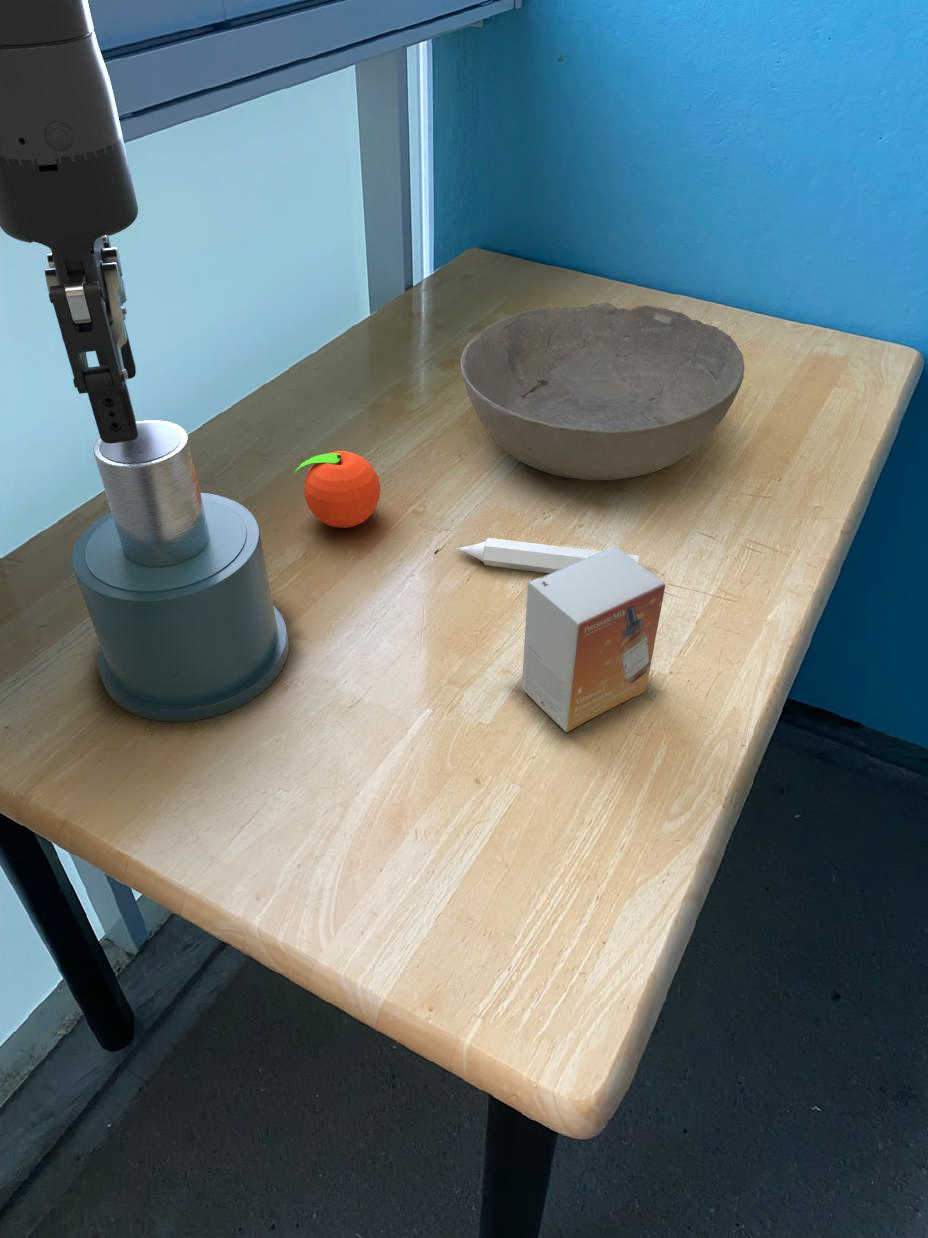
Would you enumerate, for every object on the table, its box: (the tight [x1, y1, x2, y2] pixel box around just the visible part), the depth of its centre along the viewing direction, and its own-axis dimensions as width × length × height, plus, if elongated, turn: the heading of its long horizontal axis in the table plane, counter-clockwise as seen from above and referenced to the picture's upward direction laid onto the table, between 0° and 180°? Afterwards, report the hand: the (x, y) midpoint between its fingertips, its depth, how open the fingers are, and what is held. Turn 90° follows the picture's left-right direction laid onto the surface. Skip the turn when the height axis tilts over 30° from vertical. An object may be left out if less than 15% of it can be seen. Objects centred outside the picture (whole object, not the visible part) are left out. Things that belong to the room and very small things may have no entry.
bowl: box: [460, 302, 745, 481], centre depth 95 cm, size 28×28×10 cm
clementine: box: [291, 450, 381, 529], centre depth 85 cm, size 8×7×7 cm
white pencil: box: [454, 537, 640, 574], centre depth 81 cm, size 3×2×16 cm
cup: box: [92, 419, 210, 567], centre depth 64 cm, size 6×6×8 cm
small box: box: [521, 544, 666, 733], centre depth 67 cm, size 8×6×10 cm
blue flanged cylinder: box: [71, 492, 290, 723], centre depth 70 cm, size 14×14×11 cm
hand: (120, 406), depth 60 cm, fingers open, 8 cm apart
